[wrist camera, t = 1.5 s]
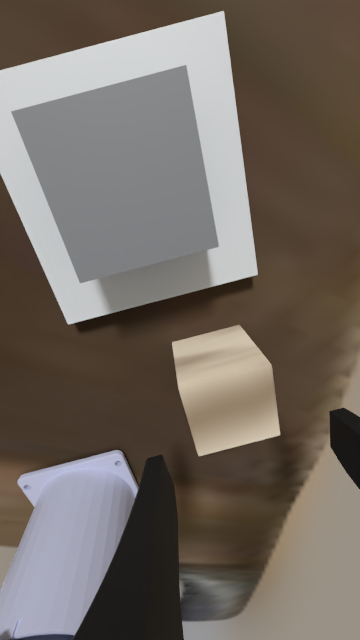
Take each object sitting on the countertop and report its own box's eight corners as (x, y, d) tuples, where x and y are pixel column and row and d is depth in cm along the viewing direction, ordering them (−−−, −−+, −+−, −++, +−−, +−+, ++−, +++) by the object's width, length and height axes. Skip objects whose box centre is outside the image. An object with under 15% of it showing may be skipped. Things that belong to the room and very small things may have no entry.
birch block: (248, 381, 18) (280, 435, 14) (187, 396, 18) (198, 456, 14) (239, 324, 17) (271, 364, 12) (171, 342, 17) (178, 388, 12)
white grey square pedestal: (251, 271, 15) (282, 287, 12) (73, 318, 16) (47, 349, 12) (218, 27, 11) (249, -65, 8) (-25, 92, 11) (-112, 31, 8)
